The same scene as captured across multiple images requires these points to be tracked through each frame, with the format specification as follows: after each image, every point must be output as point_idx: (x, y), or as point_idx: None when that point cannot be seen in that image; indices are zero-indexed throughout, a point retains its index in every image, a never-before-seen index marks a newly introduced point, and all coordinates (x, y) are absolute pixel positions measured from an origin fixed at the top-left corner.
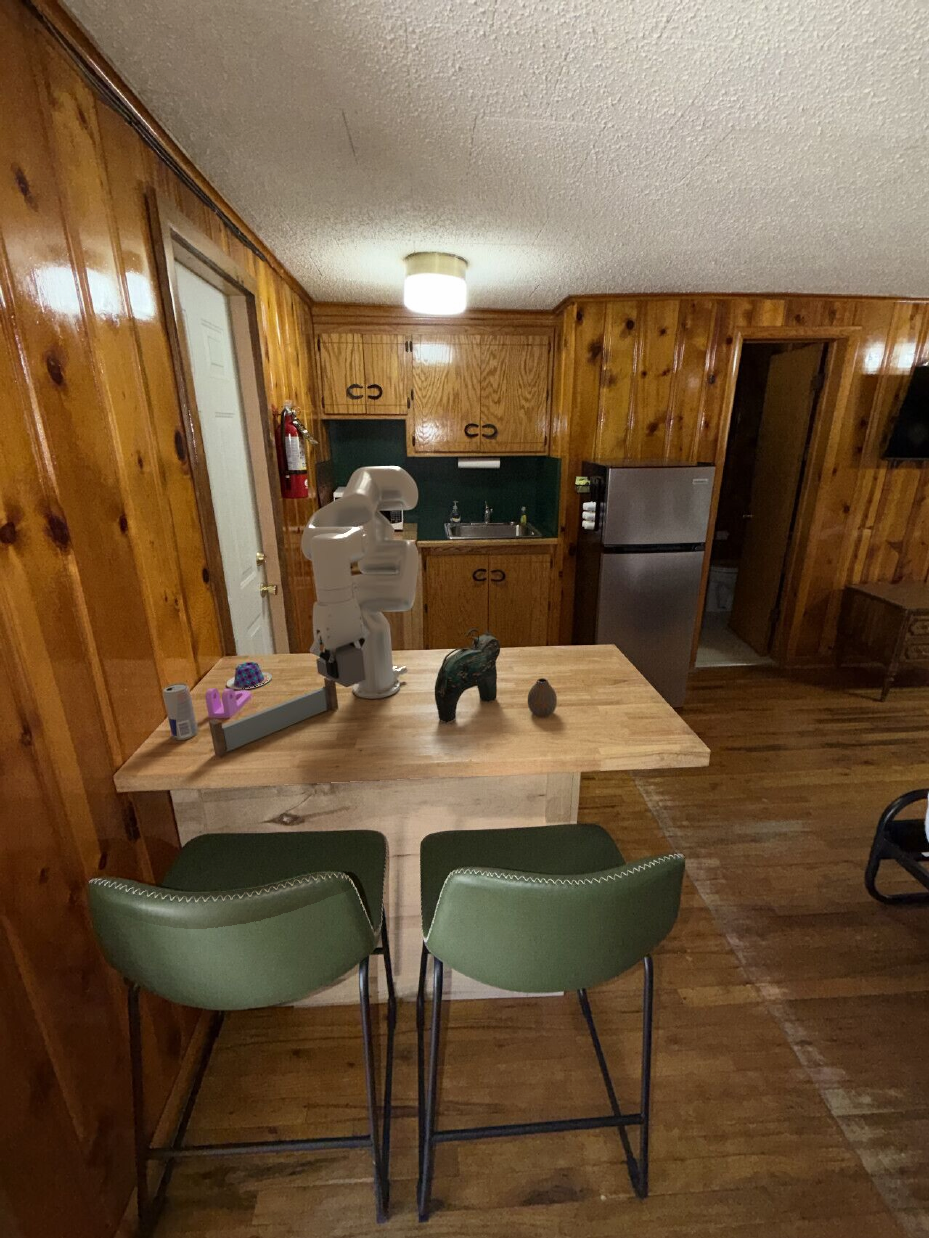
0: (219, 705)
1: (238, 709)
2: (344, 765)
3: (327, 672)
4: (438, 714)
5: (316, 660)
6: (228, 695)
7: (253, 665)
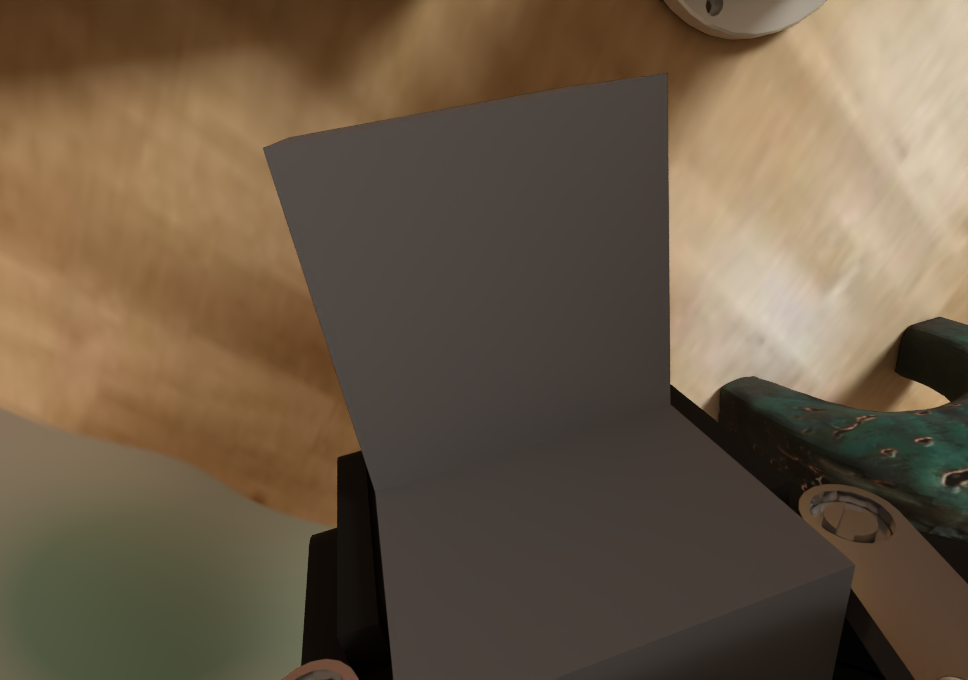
0: None
1: None
2: (286, 505)
3: (314, 549)
4: (734, 399)
5: (268, 152)
6: None
7: None
